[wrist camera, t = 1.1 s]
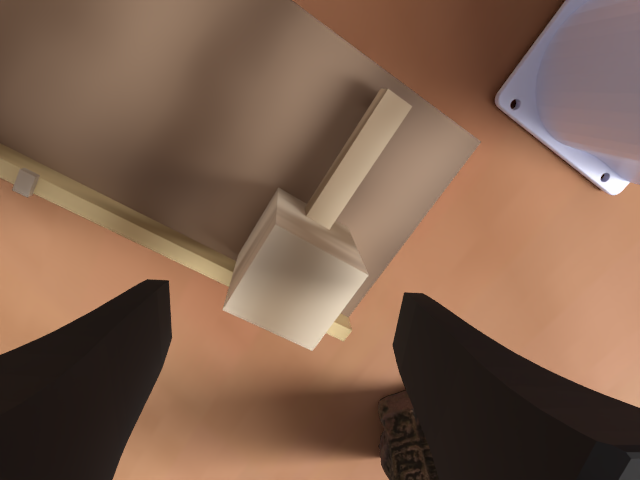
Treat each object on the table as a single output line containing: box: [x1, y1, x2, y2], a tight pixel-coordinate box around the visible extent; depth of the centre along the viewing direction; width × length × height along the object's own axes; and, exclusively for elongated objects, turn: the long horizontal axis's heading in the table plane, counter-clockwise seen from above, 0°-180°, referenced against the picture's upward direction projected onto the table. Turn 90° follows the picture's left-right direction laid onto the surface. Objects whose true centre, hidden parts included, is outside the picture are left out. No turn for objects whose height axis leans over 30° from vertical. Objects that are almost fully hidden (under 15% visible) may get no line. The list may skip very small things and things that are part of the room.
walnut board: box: [0, 0, 481, 341], centre depth 16 cm, size 22×12×4 cm, turn 57°
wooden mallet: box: [223, 88, 412, 351], centre depth 15 cm, size 4×10×5 cm, turn 147°
